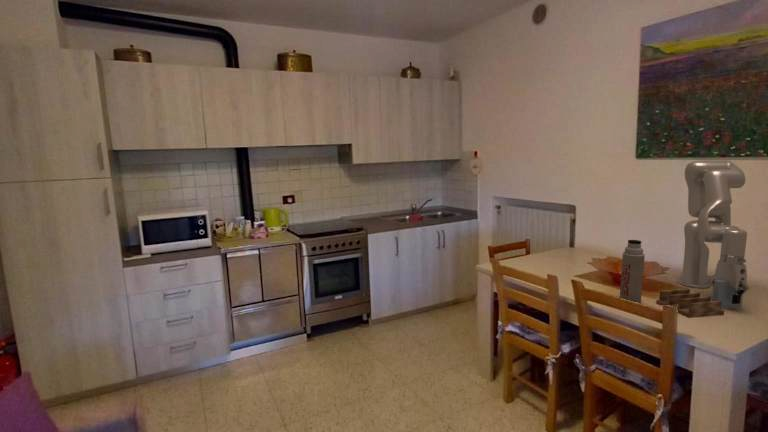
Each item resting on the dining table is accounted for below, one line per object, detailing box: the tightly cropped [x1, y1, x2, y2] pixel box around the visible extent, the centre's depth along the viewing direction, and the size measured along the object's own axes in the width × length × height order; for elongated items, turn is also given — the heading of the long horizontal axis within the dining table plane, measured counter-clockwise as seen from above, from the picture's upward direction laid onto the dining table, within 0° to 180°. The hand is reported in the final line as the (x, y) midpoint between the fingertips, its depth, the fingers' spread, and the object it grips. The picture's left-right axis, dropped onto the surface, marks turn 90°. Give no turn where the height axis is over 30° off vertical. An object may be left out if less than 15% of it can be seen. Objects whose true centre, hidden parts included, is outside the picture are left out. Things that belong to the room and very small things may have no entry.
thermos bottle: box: [619, 239, 645, 304], centre depth 174 cm, size 8×8×28 cm
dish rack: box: [655, 288, 725, 319], centre depth 169 cm, size 16×16×6 cm
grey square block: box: [711, 280, 744, 310], centre depth 169 cm, size 12×2×12 cm, turn 99°
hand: (727, 300), depth 170 cm, fingers open, 6 cm apart
